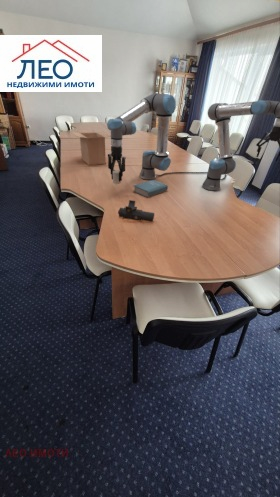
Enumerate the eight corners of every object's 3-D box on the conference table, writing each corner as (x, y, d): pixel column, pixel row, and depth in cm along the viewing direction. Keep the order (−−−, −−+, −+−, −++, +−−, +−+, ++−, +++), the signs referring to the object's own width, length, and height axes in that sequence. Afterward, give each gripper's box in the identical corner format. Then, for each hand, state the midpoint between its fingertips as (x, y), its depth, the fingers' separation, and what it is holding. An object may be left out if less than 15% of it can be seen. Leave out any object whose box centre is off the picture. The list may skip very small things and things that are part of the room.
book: (152, 185, 190) (153, 179, 187) (167, 191, 181) (167, 185, 178) (133, 191, 176) (133, 185, 173) (147, 198, 167) (148, 191, 164)
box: (116, 165, 229) (116, 136, 213) (83, 168, 214) (80, 137, 198) (102, 154, 259) (101, 128, 243) (71, 156, 244) (68, 129, 228)
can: (121, 182, 164) (121, 171, 159) (118, 184, 160) (118, 173, 155) (114, 180, 166) (114, 169, 161) (111, 182, 161) (111, 171, 157)
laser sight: (151, 225, 135) (153, 210, 129) (116, 219, 138) (116, 205, 132) (154, 218, 142) (155, 203, 137) (120, 212, 145) (120, 198, 139)
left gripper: (101, 144, 149) (103, 178, 162) (125, 149, 142) (124, 184, 156) (108, 142, 154) (109, 175, 168) (131, 147, 147) (130, 181, 161)
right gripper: (258, 123, 153) (248, 155, 166) (298, 129, 141) (284, 163, 154) (261, 123, 158) (251, 154, 171) (300, 128, 146) (286, 161, 159)
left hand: (116, 179), depth 162 cm, fingers closed on can, 6 cm apart
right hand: (266, 158), depth 162 cm, fingers open, 13 cm apart
